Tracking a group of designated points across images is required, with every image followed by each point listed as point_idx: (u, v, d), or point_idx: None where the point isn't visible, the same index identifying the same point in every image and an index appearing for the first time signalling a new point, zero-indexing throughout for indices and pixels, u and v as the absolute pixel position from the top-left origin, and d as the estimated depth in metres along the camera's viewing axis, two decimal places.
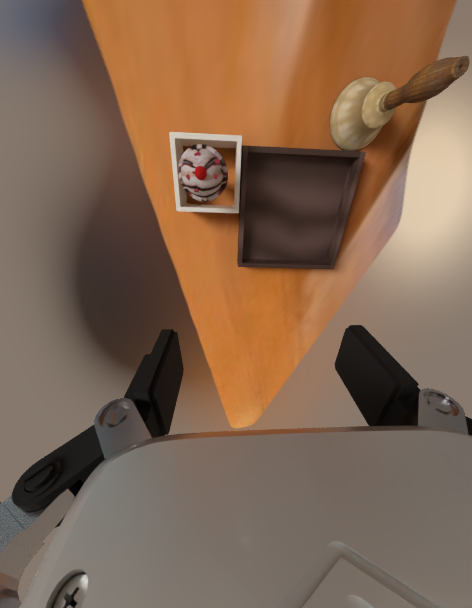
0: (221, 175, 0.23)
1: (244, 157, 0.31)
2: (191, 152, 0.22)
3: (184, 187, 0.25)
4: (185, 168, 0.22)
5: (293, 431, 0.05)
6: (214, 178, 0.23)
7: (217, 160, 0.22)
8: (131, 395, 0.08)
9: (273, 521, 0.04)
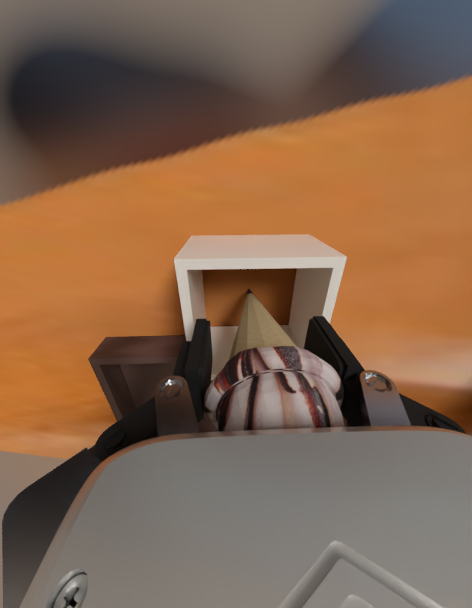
0: None
1: None
2: None
3: (241, 372, 0.07)
4: None
5: (293, 431, 0.05)
6: None
7: None
8: (178, 375, 0.09)
9: (273, 521, 0.04)
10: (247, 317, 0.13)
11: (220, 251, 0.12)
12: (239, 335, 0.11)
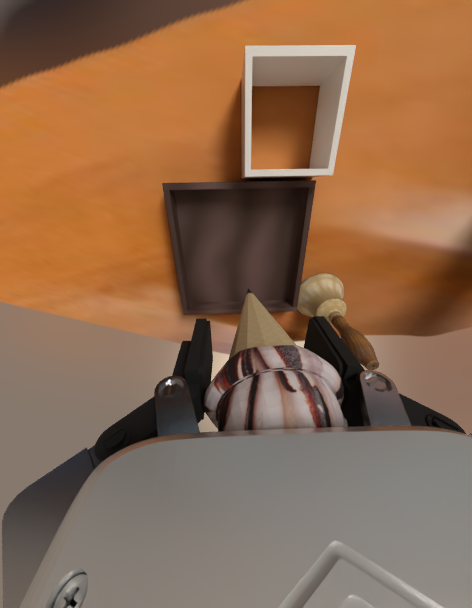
0: None
1: (303, 183, 0.25)
2: None
3: (241, 372, 0.07)
4: None
5: (293, 431, 0.05)
6: None
7: None
8: (178, 375, 0.09)
9: (273, 521, 0.04)
10: (247, 316, 0.12)
11: None
12: (239, 334, 0.11)
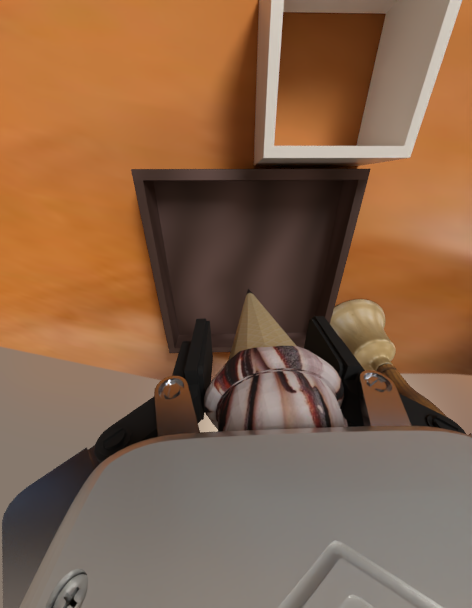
0: None
1: (351, 172, 0.16)
2: None
3: (241, 372, 0.07)
4: None
5: (293, 431, 0.05)
6: None
7: None
8: (178, 375, 0.09)
9: (273, 521, 0.04)
10: (247, 317, 0.13)
11: None
12: (239, 335, 0.11)
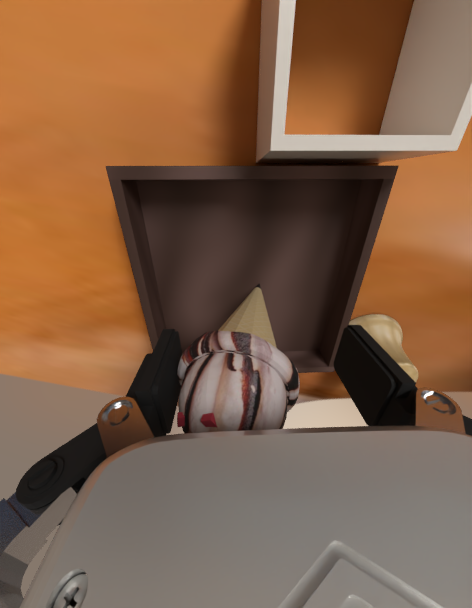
0: None
1: (375, 170, 0.13)
2: (276, 413, 0.08)
3: (200, 349, 0.09)
4: (233, 416, 0.07)
5: (293, 431, 0.05)
6: None
7: None
8: (133, 394, 0.08)
9: (273, 521, 0.04)
10: (240, 307, 0.14)
11: None
12: (225, 322, 0.12)
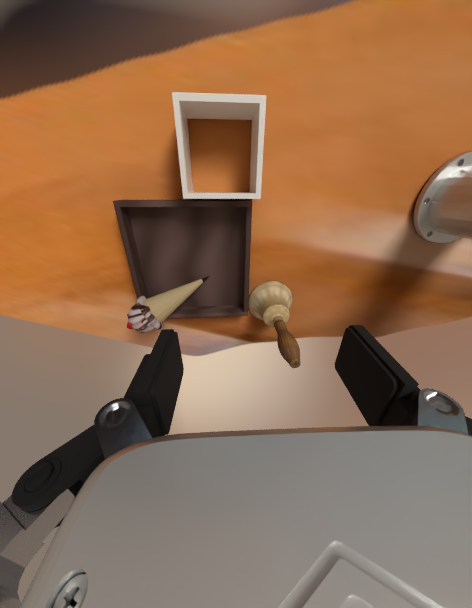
0: None
1: (241, 203, 0.28)
2: (146, 331, 0.32)
3: (141, 310, 0.30)
4: (135, 327, 0.31)
5: (293, 431, 0.05)
6: None
7: None
8: (131, 395, 0.08)
9: (273, 521, 0.04)
10: (175, 293, 0.32)
11: None
12: (163, 296, 0.32)
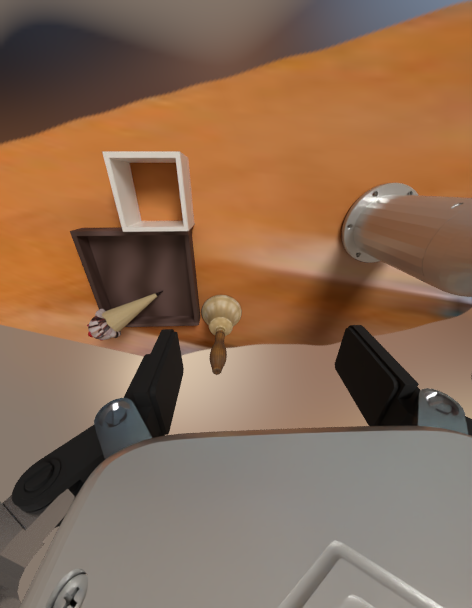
0: None
1: (179, 232, 0.33)
2: (104, 339, 0.37)
3: (97, 322, 0.35)
4: (94, 336, 0.36)
5: (293, 431, 0.05)
6: None
7: None
8: (131, 395, 0.08)
9: (273, 521, 0.04)
10: (129, 307, 0.38)
11: None
12: (119, 309, 0.37)
